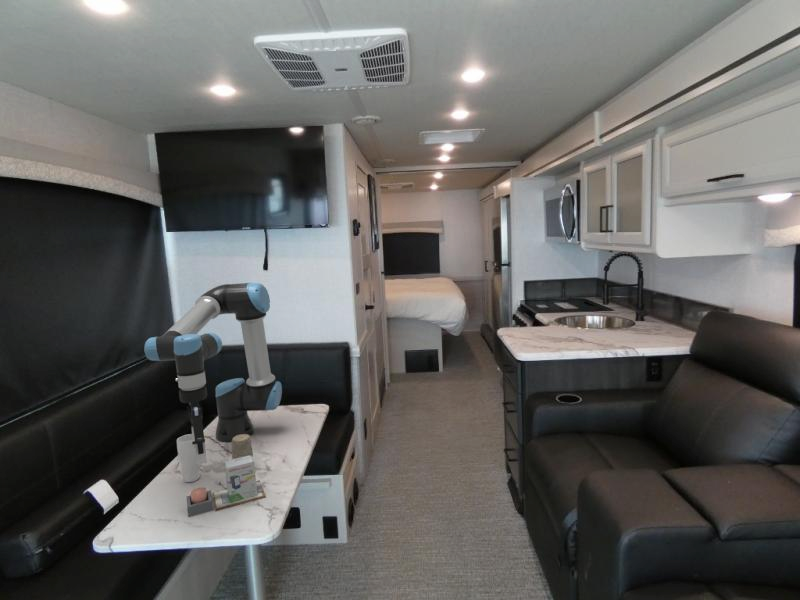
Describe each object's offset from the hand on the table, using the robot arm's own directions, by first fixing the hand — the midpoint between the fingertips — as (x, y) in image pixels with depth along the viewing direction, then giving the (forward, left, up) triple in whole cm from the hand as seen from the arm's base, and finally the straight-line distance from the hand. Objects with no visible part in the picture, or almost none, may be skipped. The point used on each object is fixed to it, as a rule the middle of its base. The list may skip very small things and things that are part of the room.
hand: (200, 454), depth 142 cm
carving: (-19, +14, -17) cm, 29 cm away
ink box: (+1, +11, -17) cm, 20 cm away
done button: (0, -2, -15) cm, 16 cm away
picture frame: (-1, +10, -17) cm, 20 cm away
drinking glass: (-21, -3, -17) cm, 28 cm away
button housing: (0, -2, -17) cm, 17 cm away
